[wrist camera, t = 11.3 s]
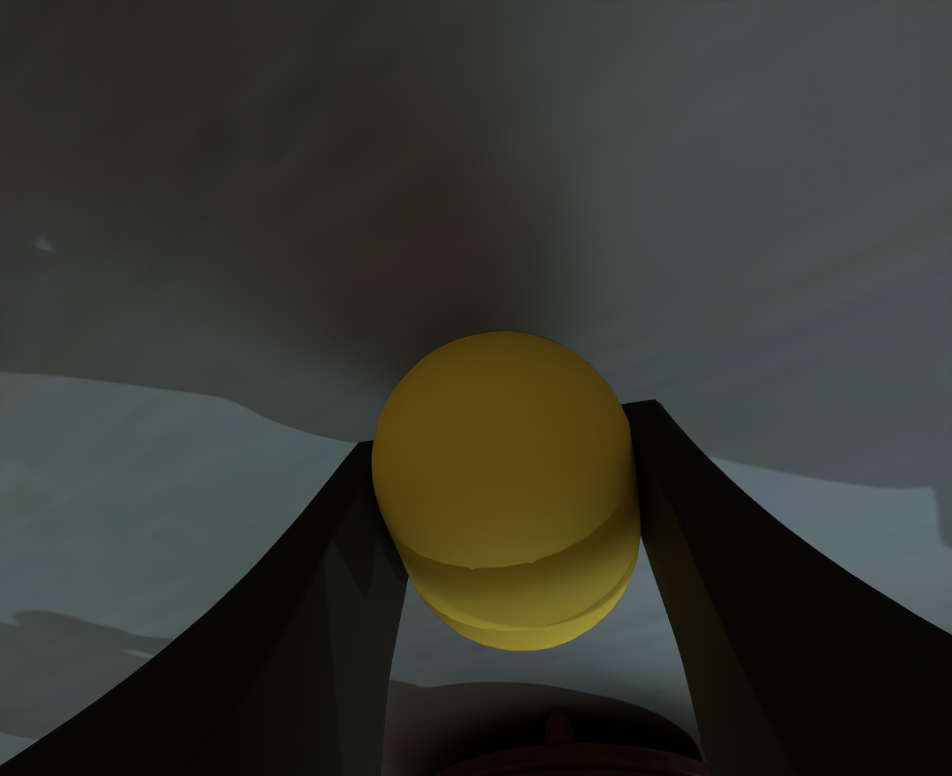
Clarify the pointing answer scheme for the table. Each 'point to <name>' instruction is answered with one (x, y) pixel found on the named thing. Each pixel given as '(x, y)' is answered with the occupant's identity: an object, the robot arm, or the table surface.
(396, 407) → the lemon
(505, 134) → the table surface
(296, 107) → the table surface
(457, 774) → the wooden rope wheel ornament
